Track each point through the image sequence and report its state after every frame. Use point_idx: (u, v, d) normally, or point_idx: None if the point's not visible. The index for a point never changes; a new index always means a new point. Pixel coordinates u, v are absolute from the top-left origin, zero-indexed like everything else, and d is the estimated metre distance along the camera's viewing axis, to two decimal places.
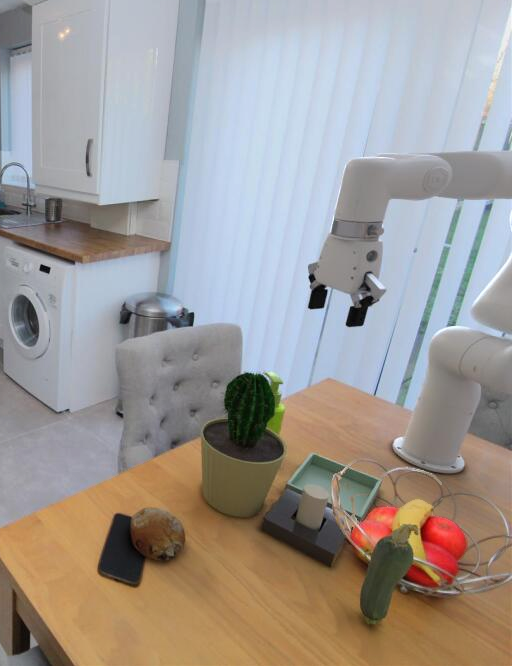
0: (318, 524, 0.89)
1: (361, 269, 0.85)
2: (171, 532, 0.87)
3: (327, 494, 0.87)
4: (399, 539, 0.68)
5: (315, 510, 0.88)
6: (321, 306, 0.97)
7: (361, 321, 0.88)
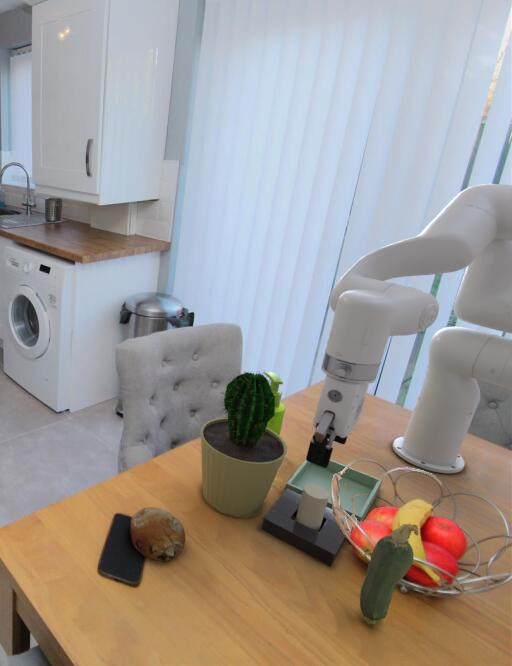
0: (318, 524, 0.89)
1: (321, 405, 0.79)
2: (171, 532, 0.87)
3: (327, 494, 0.87)
4: (399, 539, 0.68)
5: (315, 510, 0.88)
6: (339, 441, 0.87)
7: (318, 460, 0.81)
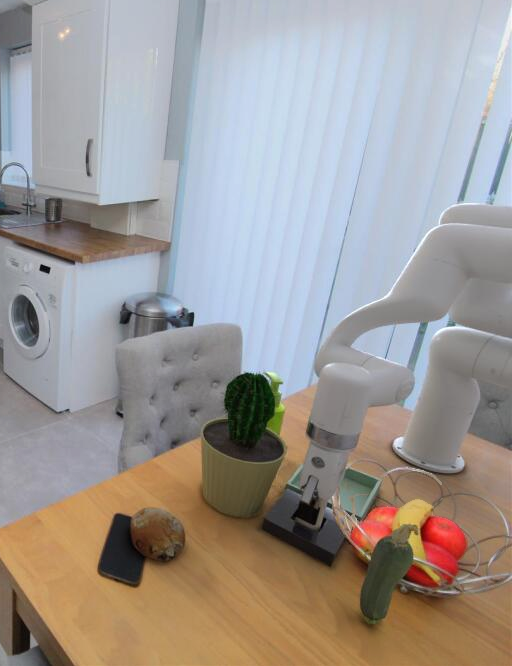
0: (318, 524, 0.89)
1: (305, 469, 0.84)
2: (171, 532, 0.87)
3: None
4: (399, 539, 0.68)
5: None
6: None
7: (306, 518, 0.88)
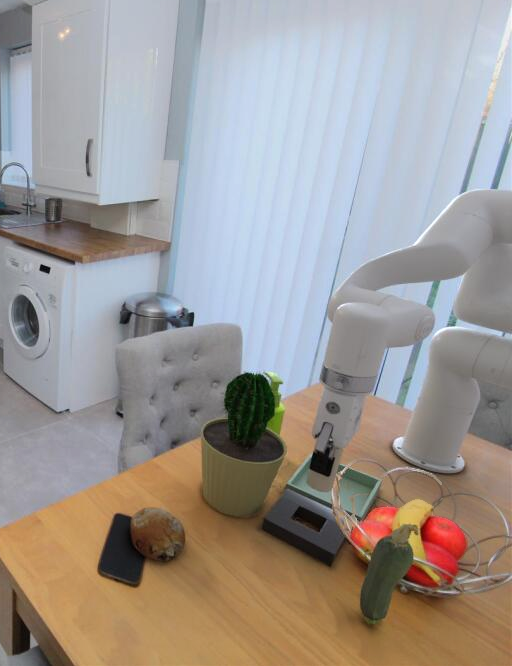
0: (332, 476, 0.85)
1: (319, 416, 0.80)
2: (171, 532, 0.87)
3: None
4: (399, 539, 0.68)
5: None
6: None
7: (320, 469, 0.84)
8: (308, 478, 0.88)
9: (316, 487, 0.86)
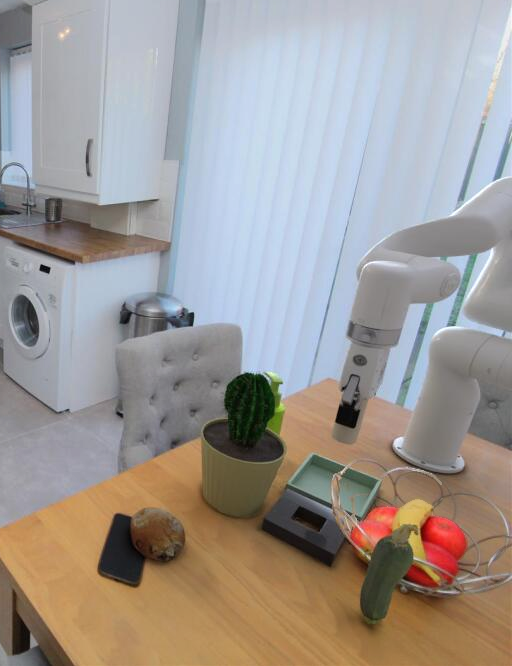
0: (357, 428, 0.90)
1: (346, 369, 0.85)
2: (171, 532, 0.87)
3: None
4: (399, 539, 0.68)
5: None
6: None
7: (346, 422, 0.89)
8: (333, 432, 0.93)
9: (341, 439, 0.91)
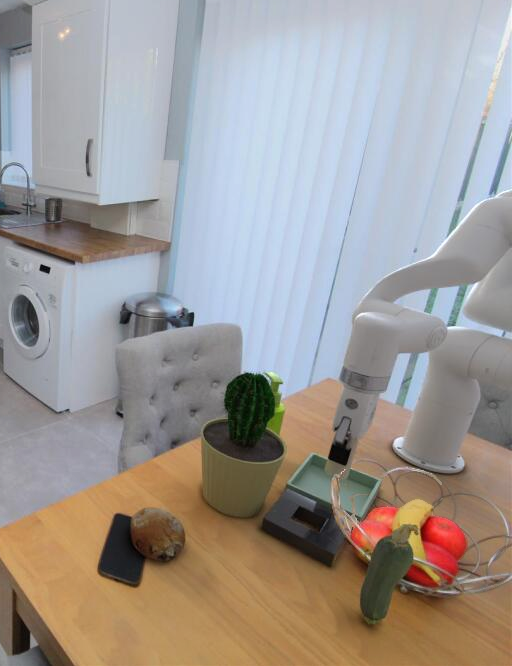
0: (348, 465, 0.96)
1: (339, 411, 0.91)
2: (171, 532, 0.87)
3: None
4: (399, 539, 0.68)
5: None
6: None
7: (338, 459, 0.95)
8: (326, 467, 0.99)
9: (333, 475, 0.97)
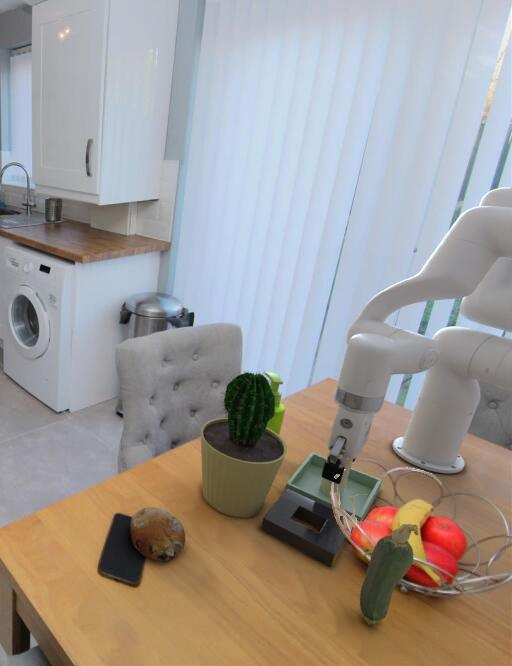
0: (343, 484, 0.98)
1: (334, 430, 0.93)
2: (171, 532, 0.87)
3: None
4: (399, 539, 0.68)
5: None
6: None
7: (331, 477, 0.94)
8: (321, 485, 1.01)
9: (328, 493, 0.99)
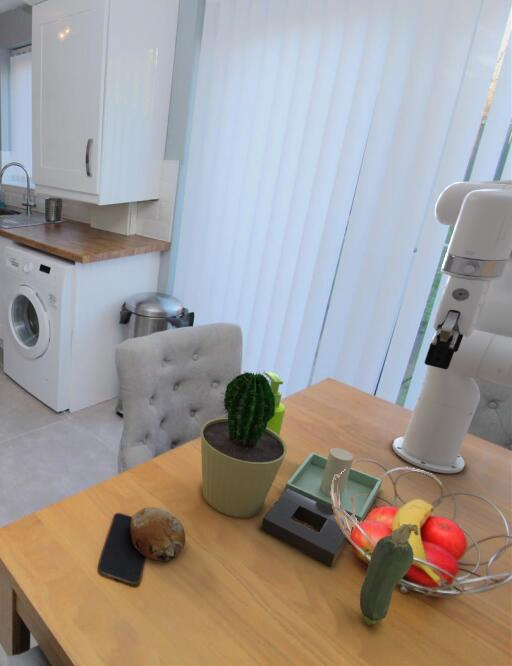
0: (343, 484, 0.98)
1: (444, 305, 0.81)
2: (171, 532, 0.87)
3: (351, 456, 0.96)
4: (399, 539, 0.68)
5: (341, 471, 0.96)
6: None
7: (439, 362, 0.83)
8: (321, 485, 1.01)
9: (328, 493, 0.99)
